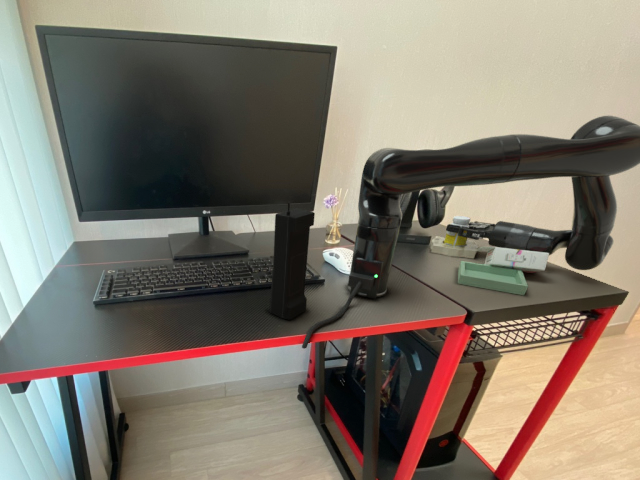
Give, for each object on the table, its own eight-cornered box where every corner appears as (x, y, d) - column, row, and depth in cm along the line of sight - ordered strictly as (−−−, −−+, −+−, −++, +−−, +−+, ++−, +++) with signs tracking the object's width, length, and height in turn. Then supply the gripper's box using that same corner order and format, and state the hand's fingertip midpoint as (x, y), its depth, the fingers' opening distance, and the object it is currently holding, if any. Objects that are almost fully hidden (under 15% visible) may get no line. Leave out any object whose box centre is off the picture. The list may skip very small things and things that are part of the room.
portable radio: (288, 300, 79) (294, 194, 67) (309, 308, 75) (319, 198, 63) (267, 312, 74) (270, 200, 62) (288, 321, 70) (295, 204, 58)
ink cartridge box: (532, 274, 91) (471, 265, 98) (537, 257, 91) (475, 249, 97) (545, 271, 84) (477, 262, 90) (550, 252, 83) (482, 244, 89)
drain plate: (476, 259, 101) (478, 252, 100) (428, 252, 107) (430, 245, 106) (475, 247, 111) (477, 240, 110) (431, 242, 117) (433, 235, 116)
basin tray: (524, 295, 79) (528, 286, 78) (457, 283, 86) (460, 275, 85) (518, 278, 88) (521, 269, 87) (458, 268, 95) (461, 260, 94)
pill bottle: (463, 249, 110) (473, 216, 105) (462, 254, 105) (473, 220, 100) (442, 246, 113) (451, 214, 108) (441, 251, 108) (450, 218, 103)
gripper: (524, 219, 98) (463, 210, 109) (509, 228, 90) (445, 217, 102) (515, 243, 101) (457, 232, 113) (499, 253, 93) (438, 240, 105)
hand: (451, 225), depth 107 cm, fingers closed on pill bottle, 6 cm apart
